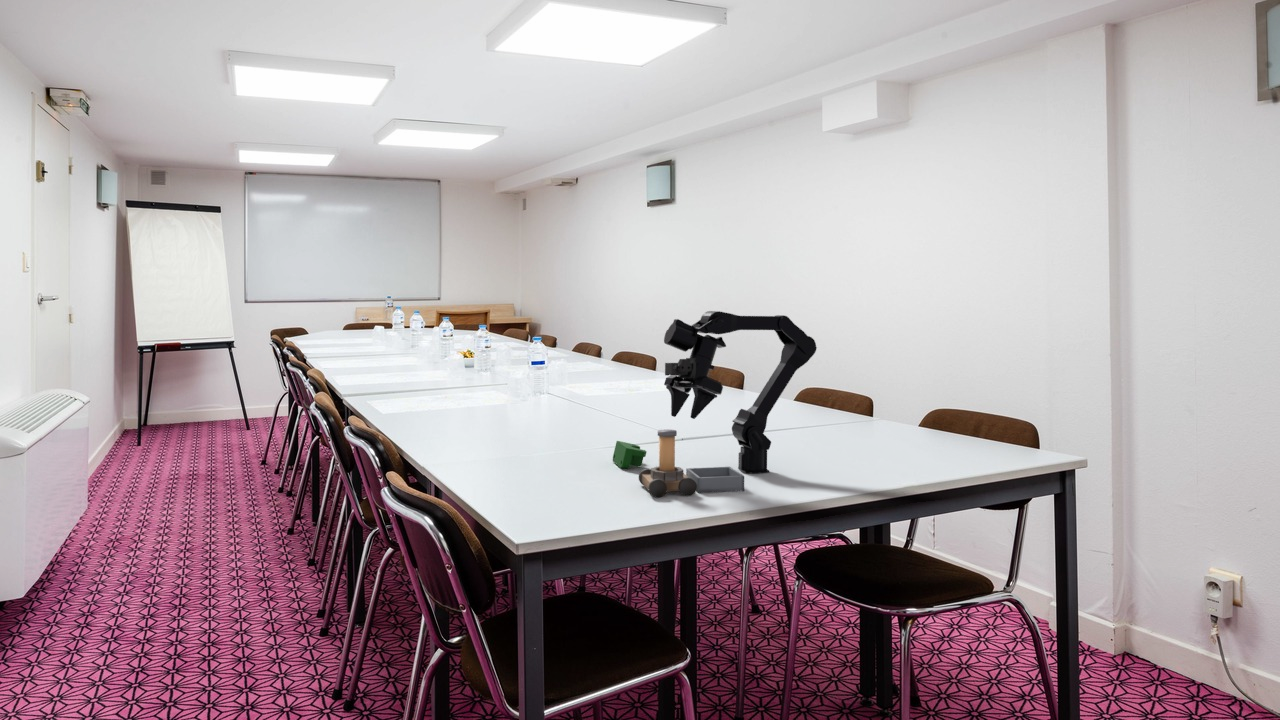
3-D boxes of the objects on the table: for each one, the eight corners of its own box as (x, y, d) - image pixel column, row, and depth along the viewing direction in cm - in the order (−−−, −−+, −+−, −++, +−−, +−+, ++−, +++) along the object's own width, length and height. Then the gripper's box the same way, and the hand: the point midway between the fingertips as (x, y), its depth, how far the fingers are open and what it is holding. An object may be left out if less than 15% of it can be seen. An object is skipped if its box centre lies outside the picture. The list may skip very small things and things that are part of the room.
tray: (729, 480, 202) (729, 466, 202) (744, 490, 192) (744, 476, 191) (686, 482, 200) (686, 468, 200) (698, 493, 189) (698, 478, 189)
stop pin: (673, 475, 194) (674, 429, 194) (678, 479, 190) (678, 432, 189) (655, 476, 193) (655, 429, 193) (659, 480, 189) (659, 432, 188)
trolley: (683, 483, 199) (683, 463, 199) (696, 495, 187) (696, 473, 187) (638, 485, 197) (638, 464, 197) (649, 497, 185) (649, 475, 184)
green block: (637, 484, 218) (648, 456, 215) (616, 479, 217) (627, 451, 213) (632, 458, 229) (642, 431, 225) (611, 454, 227) (621, 427, 224)
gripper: (656, 347, 211) (638, 405, 208) (695, 345, 195) (675, 408, 192) (691, 362, 216) (673, 419, 213) (732, 362, 200) (713, 423, 197)
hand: (682, 417), depth 204 cm, fingers open, 9 cm apart
